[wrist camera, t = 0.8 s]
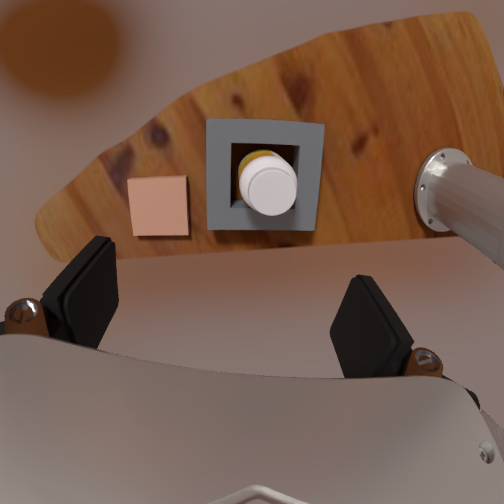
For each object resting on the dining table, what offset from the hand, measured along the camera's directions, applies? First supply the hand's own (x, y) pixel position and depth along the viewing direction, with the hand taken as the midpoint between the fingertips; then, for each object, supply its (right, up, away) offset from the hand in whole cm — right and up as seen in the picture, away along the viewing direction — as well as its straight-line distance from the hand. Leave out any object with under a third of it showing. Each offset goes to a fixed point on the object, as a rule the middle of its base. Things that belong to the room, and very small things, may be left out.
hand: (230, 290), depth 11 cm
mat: (-10, +7, +22) cm, 25 cm away
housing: (+2, +11, +21) cm, 24 cm away
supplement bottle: (+2, +11, +21) cm, 24 cm away
